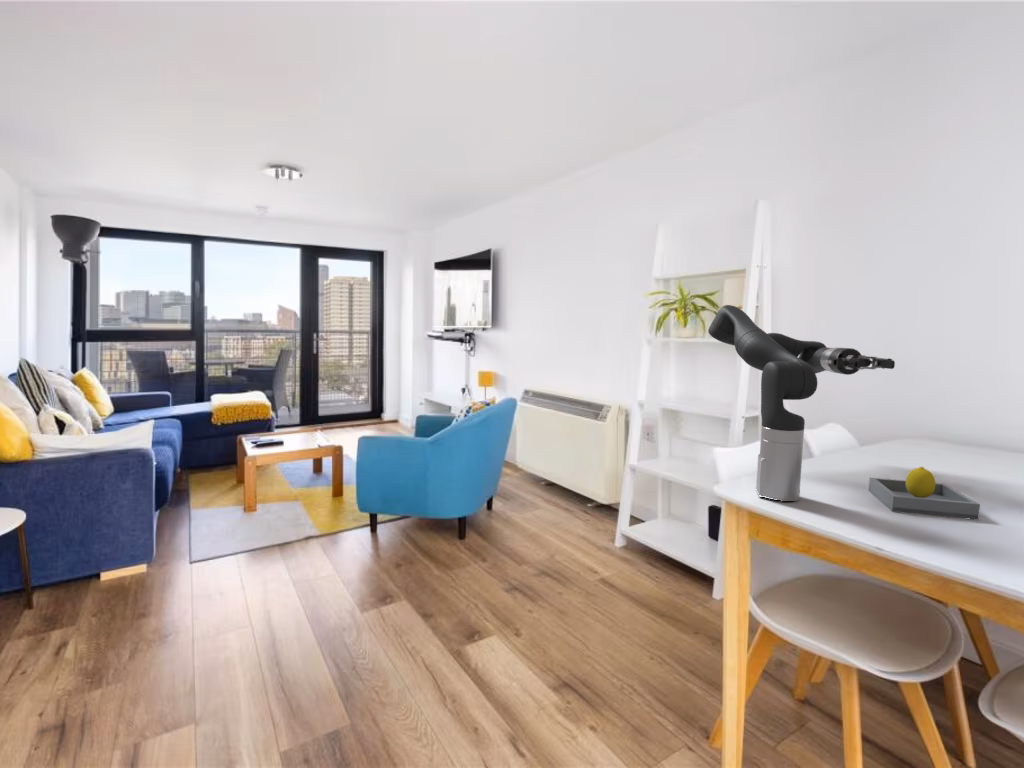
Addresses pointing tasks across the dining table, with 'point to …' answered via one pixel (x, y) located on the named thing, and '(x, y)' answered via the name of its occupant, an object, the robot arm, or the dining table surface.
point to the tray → (924, 499)
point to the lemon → (920, 482)
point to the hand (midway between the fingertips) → (876, 364)
